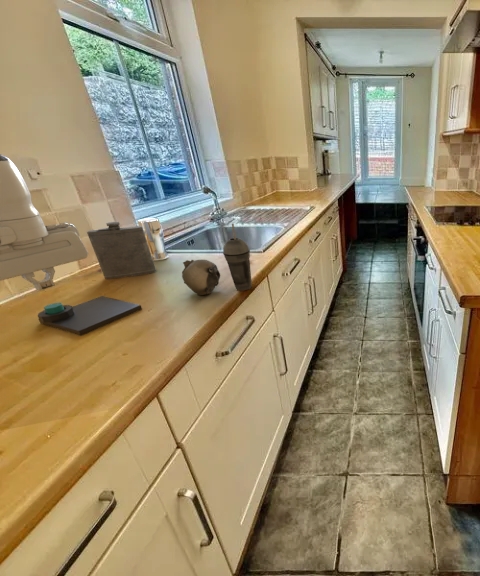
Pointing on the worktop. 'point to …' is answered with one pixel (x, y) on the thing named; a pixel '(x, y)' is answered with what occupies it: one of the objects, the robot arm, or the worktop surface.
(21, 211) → the robot arm
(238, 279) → the beverage cup
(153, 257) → the chrome pepper mill
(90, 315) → the scale
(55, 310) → the tare button
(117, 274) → the flask
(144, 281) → the worktop surface
